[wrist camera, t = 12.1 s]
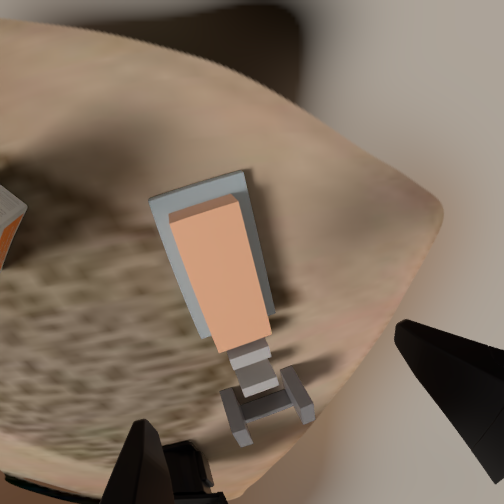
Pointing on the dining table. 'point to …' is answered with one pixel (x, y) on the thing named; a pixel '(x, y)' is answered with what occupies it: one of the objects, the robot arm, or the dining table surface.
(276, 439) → the dining table surface
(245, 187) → the mat
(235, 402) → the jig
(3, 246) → the skincare box
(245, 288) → the bar
